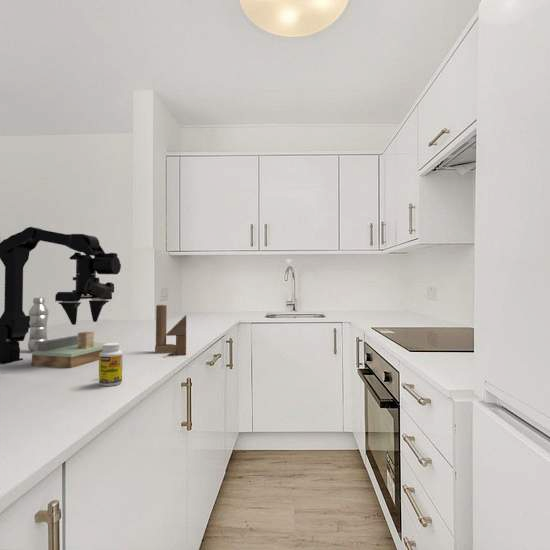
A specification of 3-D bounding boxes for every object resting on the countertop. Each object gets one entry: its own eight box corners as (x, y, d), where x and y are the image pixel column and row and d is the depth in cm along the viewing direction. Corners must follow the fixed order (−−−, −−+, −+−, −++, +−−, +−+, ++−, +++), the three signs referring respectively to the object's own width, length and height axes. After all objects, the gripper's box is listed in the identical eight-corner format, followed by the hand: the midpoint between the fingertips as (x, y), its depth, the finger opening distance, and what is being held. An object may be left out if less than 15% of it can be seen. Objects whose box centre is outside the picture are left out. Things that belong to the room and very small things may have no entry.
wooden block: (186, 355, 139) (186, 305, 139) (154, 356, 136) (155, 305, 136) (185, 353, 142) (186, 304, 143) (155, 354, 140) (155, 304, 140)
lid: (32, 354, 116) (32, 343, 116) (80, 344, 135) (80, 334, 135) (71, 357, 113) (71, 345, 113) (115, 346, 132) (115, 336, 132)
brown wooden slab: (31, 368, 116) (31, 355, 116) (80, 356, 135) (80, 344, 135) (71, 371, 113) (71, 357, 113) (114, 358, 132) (115, 346, 132)
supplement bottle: (96, 387, 96) (97, 346, 96) (101, 381, 101) (101, 342, 101) (120, 386, 97) (120, 345, 97) (123, 380, 102) (124, 342, 103)
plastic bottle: (43, 349, 149) (43, 297, 149) (51, 351, 145) (52, 298, 145) (24, 351, 144) (25, 298, 144) (32, 353, 140) (33, 298, 140)
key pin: (77, 361, 122) (77, 332, 122) (84, 359, 125) (85, 331, 125) (86, 361, 121) (86, 333, 121) (93, 359, 124) (93, 331, 125)
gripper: (86, 273, 112) (84, 327, 112) (126, 275, 130) (125, 321, 130) (54, 273, 115) (53, 325, 114) (98, 274, 133) (97, 320, 132)
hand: (84, 323), depth 123 cm, fingers open, 9 cm apart
